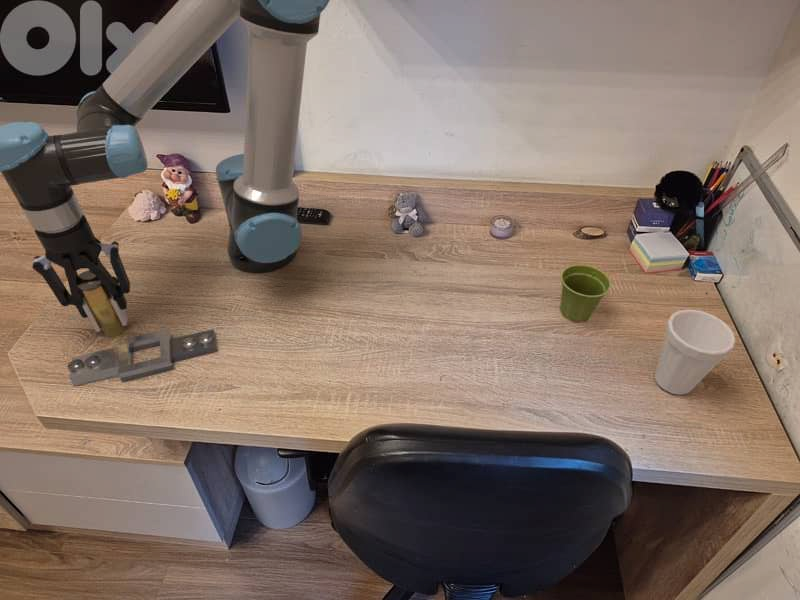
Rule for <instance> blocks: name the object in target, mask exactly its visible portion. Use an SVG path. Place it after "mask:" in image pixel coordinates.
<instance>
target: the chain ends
mask: <svg viewBox="0 0 800 600" xmlns="http://www.w3.org/2000/svg"><path fill="white" fill-rule="evenodd" d="M172 335H173V334H172V333H171V331H170V329H169V328H164V329H161V330H157V331H156V330H155V331H152V332H148V333H143V334H139V335H134V336H130V337H126V338H122V339H119V344H118V346H115V347H112V348H107V349H103V350H98V351H94V352H90V353H85V354H82V355H77V356H72V357H71V361H70V362H69V363H68V364H67V368H68V370H69V371H70V372H69V380H70V381H71V383H72V385H73V386H74V387H77V386H78V387H79V386H80V385H85V384H90V383H93V382H98V381H102V380H106V379H110V378H114V377H119V378H120V380H121V382H122V383H124V382H128V381H133V380H136V379H140V378H145V377H148V376H153V375H157V374H161V373H165V372H168V371H172V370H175V366H174V365H175V364H174V363H175V362H180V361H183V360H189V359H192V358H196V357H200V356H204V355H208V354H212V353H216V352H218V344H217V338H216V332H215V329H207V330H204V331H200V332H195V333H190V334H187V335H184V336H179V337H174V338H173V336H172ZM155 347H160V348H159V350H160V352H159V355H160V357H156V358H151V359H147V360H143V361H138V362H135V363H133V358H134V352H137V351H138V352H139V351H142V350H145V349H151V348H155Z"/></svg>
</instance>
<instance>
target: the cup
mask: <svg viewBox="0 0 800 600" xmlns="http://www.w3.org/2000/svg"><path fill="white" fill-rule="evenodd" d="M735 344H736V337H735V334H734V331H733V330H732V329H731V328H730V326H729V325H728V324H727V323H726V322H725V321H723V320H721V319H720V318H719V317H717V316H715V315H713V314H710V313H708V312H705V311H703V310H698V309H697V310H696V309H683V310H682V309H681V310H677V311H676V312H674V313H673V314H671V315H670V317H669V319H668V321H667V324H666V328H665V338H664V341H663V345H662V348H661V351H660V355H659V359H658V363H657V367H656V369H655V373H654V379H655V382H656V384H657V385H658V386H659V387H660V388H661V389H662V390H664V391H665V392H668V393H670V394H673V395H678V396H681V395H687V394H689V393H690V392H691V391H692V390H693V389H694V388H695V387H697V385H698V384H699V383H700V382H701V381H702V380H703V379H704V378H705V377H706V376H707V375H708V374H709V373H710V372H711V371H712V370H713V369H714V368H715V367H716V366H717V365H718V364H719V363H720V362H721V360H722V359H724V357H726V356H728V354H730V352H731V351H733V349H734V347H735Z"/></svg>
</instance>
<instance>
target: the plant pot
mask: <svg viewBox="0 0 800 600" xmlns="http://www.w3.org/2000/svg"><path fill="white" fill-rule="evenodd" d="M560 280H561V281H560V282H561V286H562V287H561V288H562V289H561V297H560V305H559V310H560V313H561V315H562V316H563V318H565V319H566V320H568V321H570V322H574V323H579V322H583V323H584V322H587V321H589V320H590V319H591V317H592V315H593V313H594V312H595V310H596V309H597V308H598V307H597V306H598V304H599V303H600V301H601V300H602V298H604V297H605V296H606V295H607V294H608V293H609V292H610V291H611V288H612V281H611V278H610V277H609V276H608V275H607V273H606V272H604V271H603V270H602V269H599V267H596V266H592V265H589V264H579V263H578V264H573V265H569V266H566V267H565V268H564V269H563V270H562V271H561V274H560Z"/></svg>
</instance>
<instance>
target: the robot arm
mask: <svg viewBox="0 0 800 600" xmlns="http://www.w3.org/2000/svg"><path fill="white" fill-rule="evenodd" d="M330 1H331V0H178V1H177V2H176V3H175V4H174V5H173V6H172V7H171V9H170V10H168V12H167V13H166V14H165V15H164V16H163V17H162V18H161V19H160V20H159V21H158V23H156V25H155V26H154V27H153V28H152V29H151V30H150V31H149V32H148V34H146V36H145V37H144V38H143V39H142V40H141V41H140V43H139V44H138V45H137V46H136V47H135V48H134V49H133V50H132V51H131V52H130V53H129V55H128V56H126V58H124V60H123V61H122V62H121V63H120V64H119V65H118V66H117V68H115V69H114V71H113V72H112V73H110V75H109V76H108V77H107V79H105V81H104V82H103V83H102V84H101V85H100V86H99V87H98V88H97V89H96V90H95V91H90V92H88V93H86V94H85V95H84V96H83V97H82V98H81V100H80V102H79V104H78V105H77V111H76V119H77V120H76V131H75V132H69V133H64V134H55V135H49V133H48V132H47V131H46V130H45V129H44V127H43V126H42V125H40V124H39V123H37V122H34V121H28V122H25V121H16V122H12V123H7V124H4V125H2V126H0V173H1V175H2V177H3V178H4V180H5V182H6V183H7V185H8V188H10V190H11V192H12V193H13V195H14V197H15V198H16V200H17V202H18V204H19V206H20V208H21V210H22V211H23V213H24V215H25V217H26V218H27V220H28V223H29V224H30V226H31V227H32V229H34V233H35V234H36V237H37V239H38V240H39V242H40V244H41V245H42V247H43V249H44V250H45V253H44V254H43V255H36V256H34V258H33V261H32V266H31V268H32V269H33V270H34V271H35V272H37V273H38V274H39V275H41V276H42V277H43V279H44V280H45V283H47V285H48V287H49V288H50V289H51V291H52V292H53V295H54V296H55V298H57V301H58V302H59V303H60V304H61V306H62V307H68V306H74V307H76V309H77V311H78V313H79V315H80V316H81V317H82V318H83V319H85V318H88V320H89V322H90V323H91V325H92V326H93V328H94V330H95V332H96V333H97V332H101V331H102V329H101V327H100V325H99V323H98V321H97V319H96V318H95V316H94V314H93V312H92V310H91V308H90V307H89V305H88V303H87V301H86V299H85V297H84V299H83V298H82V297H83V294H82V292H81V290H79V289H78V288H77V286H76V285H77V280H78V275H79V274H78V270H79V271H80V270H82V269H83V270H84V269H85V270H86V269H88V271H89V270H90V272H91V273H94V274H95V276H96V277H97V278H98V279H99V280H101V282H102V284H103V285H104V286H105V288H106V289H107V290H108V291H109V292H110V294H111V299H110V301H111V303H112V305H113V307H114V309H115V311H116V313H117V315H118V317H119V319H120V321H121V323H122V325H123V326H125V325H126V326H128V314H127V312H126V310H127V306H128V305H127V304H128V302H127V299H126V297H125V296H124V295H125V294H126V295H127V294H129V293H130V291H131V282H130V279H129V277H128V274H127V272H126V269H125V267H124V264H123V261H122V258H121V257H120V254H119V250H120V244H119V242H117V241H113V242H111V243H102V241H101V240H99V239H98V238H97V237H96V236H95V234H94V232H93V230H92V227H91V225H90V224H89V221H88V220H87V217H86V216H85V214H84V212H83V209H82V207H81V204H80V203H79V201H78V197H77V196H76V194H75V192H74V190H73V188H72V187H73V186H78V185H83V184H90V183H96V182H101V181H109V180H115V179H125V178H128V177H129V176H133V175H138V174H142V173H145V172H146V171H147V170H148V159H147V156H146V152H145V148H144V145H143V142H142V140H141V136H140V134H139V132H138V129H137V128H136V126H137V124H138V123H139V122H140V121H141V120H142V119H143V118H144V117H145V116H146V115H147V113H149V112H150V110H151V109H153V108H154V106H155V105H156V104H157V103H158V102H159V101H160V100H161V99H162V97H164V95H166V94H167V93H168V92H169V91H170V89H171V88H173V86H174V85H175V84H177V82H178V81H179V80H180V79H181V78H182V77H183V76H185V74H186V73H187V72H188V71H189V70H190V69H191V67H193V66H194V64H195V63H196V62H197V61H198V60H199V59H201V57H202V56H203V55H204V54H205V53H206V52H207V51H208V50H209V49H210V48H211V47H212V46H213V44H215V43H216V41H217V40H218V39H220V37H221V36H222V35H223V34H224V33H225V32H227V30H228V29H229V28H230V27H231V26H232V25H233V23H234V22H236V21H237V20H238V19H240V21H242V22H243V24H244V25H245V26H246V28H247V29H248V31H249V35H248V36H249V41H248V58H247V59H248V60H247V61H248V62H247V79H246V80H247V81H246V82H247V83H246V100H245V101H246V105H245V125H244V126H245V127H244V146H243V147H244V149H243V153H240V154H235V155H231V156H229V157H226V158H225V159H222V160H221V161H220V162H219V163H218V164H217V165H216V167H215V175H216V181H218V186H219V190H220V194H221V199H222V202H223V207H224V209H225V213H226V217H227V222H228V225H229V234H228V243H227V253H228V258H229V262H230V263H231V264H232V266H234V268H236V269H238V270H240V271H241V272H244V273H245V272H246V273H251V274H263V273H264V274H265V273H269V272H274V271H277V270H278V269H281V268H283V267H285V266H286V265H288V264H289V263H290V262H291V261H293V260H294V258H295V257H296V254H297V251H298V248H299V246H300V244H301V241H302V237H303V236H302V235H303V234H302V229H301V228H302V226H301V224H300V222H299V221H298V207H299V201H300V188H299V187H298V186H297V185H296V183H295V182H293V176H294V168H295V160H296V159H295V157H296V150H297V148H296V147H297V140H298V139H297V138H298V132H299V131H298V129H299V121H300V113H301V111H300V110H301V103H302V102H301V101H302V94H303V93H302V92H303V83H304V75H305V65H306V56H307V55H306V54H307V47H308V42H309V41H311V40H312V39H313V38H314V37H316V36H317V35H318V34H319V31H320V30H319V29H320V20H321V13H323V11H325V9H326V7H328V4H329V3H330ZM101 252H104V255H105V256H106V257H107V258H108V259H109V261H110V265H111V266H112V270H113V272H114V275H115V277H116V278H117V280H118V282H119V284H118V283H117V282H116V281H115V279H114V278H113V277H114V276H113V277H112V274H111V273H110V272H109V270H108V269H106V267H105V266H104V265H103V264H102V262H101V259H100V258H99V256H100V254H101ZM52 263H53V264H55V265H57V266H58V267H60V268H61V267H62V269H64V274H65V277H66V278H67V282H68V286H69V291H70V292H69V291H68V289H67V288H66V285H65V284H64V282H63V281H62V279H61V278H60V276H59V275H58V273H57V272H56V270H55V268H54V267H53V265H52Z"/></svg>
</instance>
